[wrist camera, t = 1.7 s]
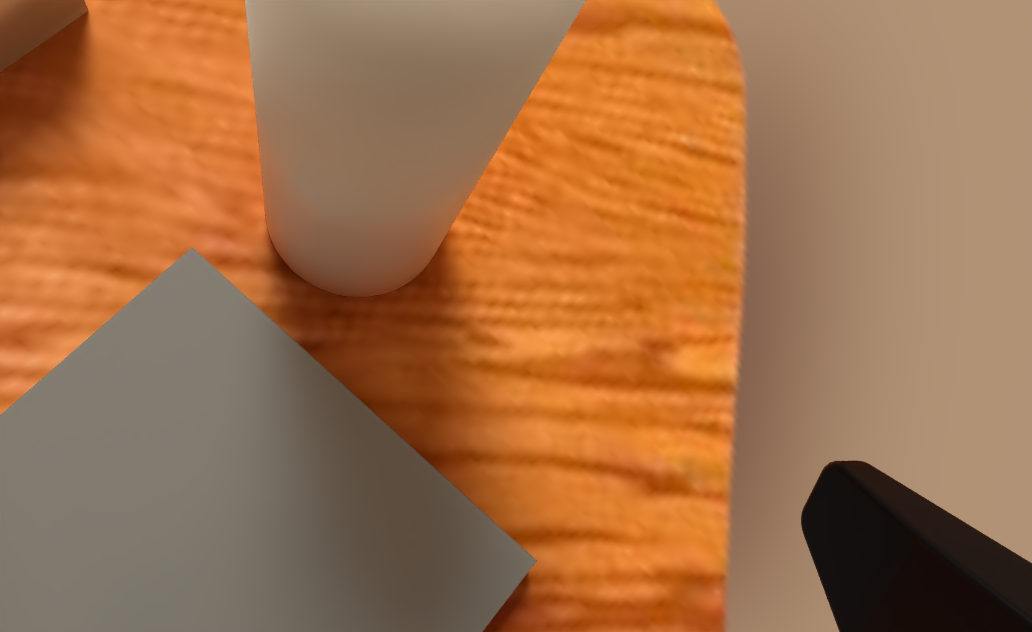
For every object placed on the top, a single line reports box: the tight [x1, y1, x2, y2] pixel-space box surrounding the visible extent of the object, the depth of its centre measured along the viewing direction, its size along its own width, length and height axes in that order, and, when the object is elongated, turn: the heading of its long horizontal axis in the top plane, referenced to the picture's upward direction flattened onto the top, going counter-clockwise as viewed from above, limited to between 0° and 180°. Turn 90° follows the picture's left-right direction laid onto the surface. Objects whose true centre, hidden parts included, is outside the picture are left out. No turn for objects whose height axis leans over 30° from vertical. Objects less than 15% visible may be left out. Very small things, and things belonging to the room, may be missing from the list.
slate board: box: [0, 248, 537, 632], centre depth 19 cm, size 12×12×1 cm
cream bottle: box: [245, 0, 586, 297], centre depth 16 cm, size 5×5×12 cm
